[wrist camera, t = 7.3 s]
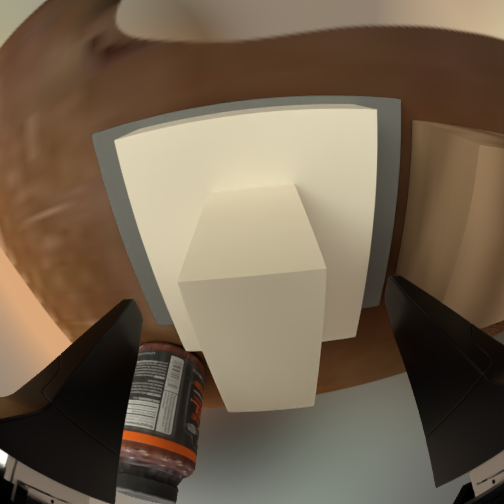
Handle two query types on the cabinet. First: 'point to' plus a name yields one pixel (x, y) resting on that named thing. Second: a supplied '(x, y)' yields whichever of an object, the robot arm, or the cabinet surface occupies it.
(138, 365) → the supplement bottle
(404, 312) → the robot arm
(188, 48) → the cabinet surface
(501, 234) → the storage box
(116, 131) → the mat
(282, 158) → the lid
